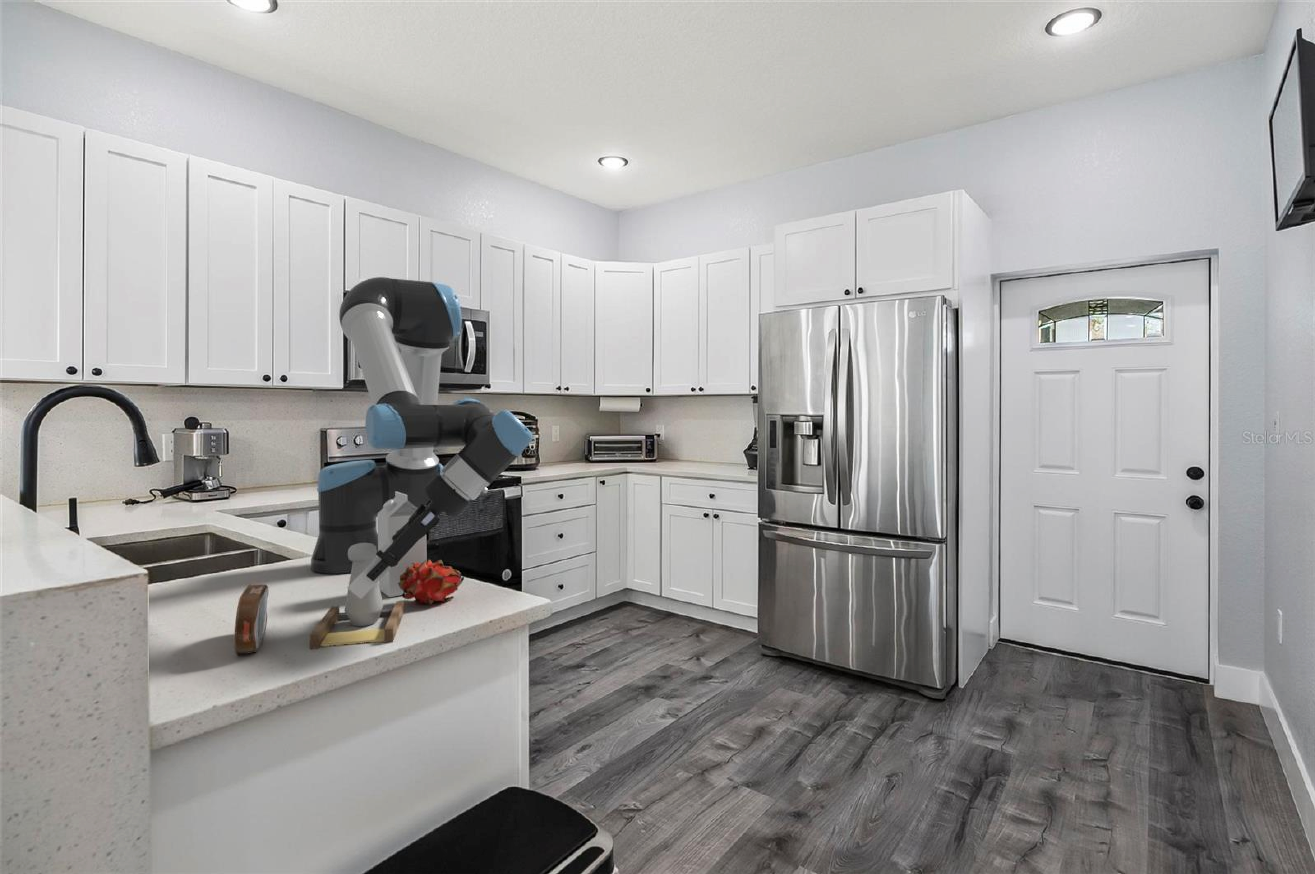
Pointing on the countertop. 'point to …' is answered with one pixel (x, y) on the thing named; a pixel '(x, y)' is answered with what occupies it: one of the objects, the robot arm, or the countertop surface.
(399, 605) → the channel
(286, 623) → the countertop surface
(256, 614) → the tin
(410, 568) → the dragon fruit
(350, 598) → the salt shaker
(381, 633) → the yellow panel
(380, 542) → the milk carton
